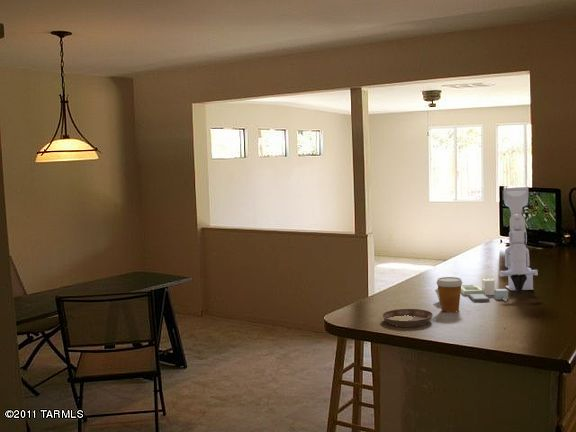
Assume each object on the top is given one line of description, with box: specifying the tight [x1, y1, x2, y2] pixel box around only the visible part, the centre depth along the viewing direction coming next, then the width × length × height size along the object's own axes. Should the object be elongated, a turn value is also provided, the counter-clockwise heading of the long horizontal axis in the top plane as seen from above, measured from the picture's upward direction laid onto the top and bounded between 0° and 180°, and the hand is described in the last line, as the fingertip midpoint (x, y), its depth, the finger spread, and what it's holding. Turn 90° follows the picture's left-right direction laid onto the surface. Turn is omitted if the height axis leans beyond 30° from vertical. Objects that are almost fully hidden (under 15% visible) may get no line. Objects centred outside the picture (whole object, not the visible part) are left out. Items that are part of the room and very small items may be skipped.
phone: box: [468, 294, 490, 303], centre depth 242 cm, size 6×9×1 cm, turn 177°
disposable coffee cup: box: [435, 276, 464, 313], centre depth 226 cm, size 10×10×12 cm
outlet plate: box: [460, 284, 484, 296], centre depth 256 cm, size 8×12×2 cm, turn 177°
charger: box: [481, 277, 496, 296], centre depth 251 cm, size 4×4×7 cm
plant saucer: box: [381, 308, 434, 327], centre depth 214 cm, size 18×18×3 cm
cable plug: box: [493, 288, 509, 302], centre depth 240 cm, size 4×8×4 cm, turn 177°
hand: (518, 293), depth 242 cm, fingers closed
